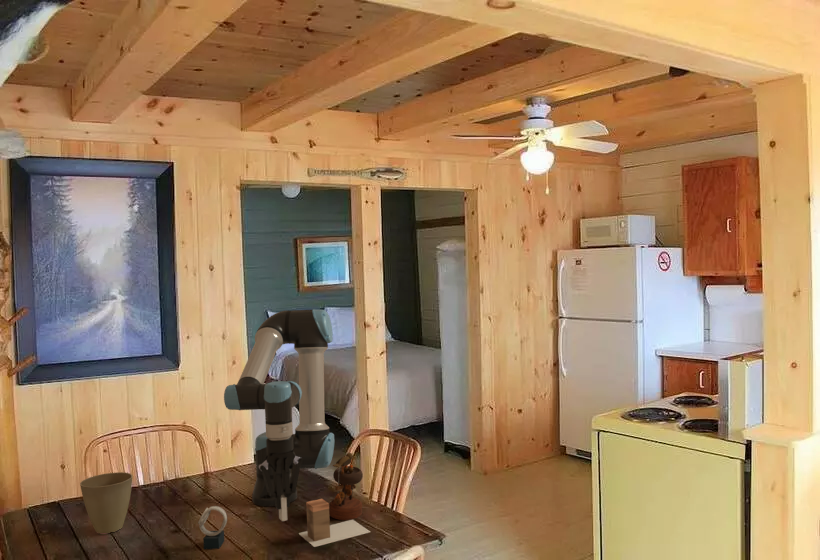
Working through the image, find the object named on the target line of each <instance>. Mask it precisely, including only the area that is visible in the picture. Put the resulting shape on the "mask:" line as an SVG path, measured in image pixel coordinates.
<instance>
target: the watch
mask: <svg viewBox="0 0 820 560" xmlns="http://www.w3.org/2000/svg"><path fill="white" fill-rule="evenodd" d="M211 511H216V512H218V513H220V514H221V515H222V517H223V521H222V523H221V527H220V528H219V529H218V530H208V529H206V527H205V525H204V524H205V523H206V521H207V520H208V518H209V516H210V515H211ZM227 523H228V515H227V513H226V510H225V509H223V508H222V507H221V506H218V505H213V506H212V505H211V506H209V508H208V507H206V508H205V510H204V511H203V512H202V514H201V516H200V518H199V520H198V527H199V529H200V531H201V533H202V534H204V535H205V536H204V537H203V541H202V542H203V550H219V549H220V548H221V547H222V545H223V544H224V542H225V530H224V529H225V527H226V526H227Z"/></svg>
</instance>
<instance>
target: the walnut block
mask: <svg viewBox="0 0 820 560" xmlns="http://www.w3.org/2000/svg"><path fill="white" fill-rule="evenodd" d="M305 504H306V526H307V528H306V529H307V530H306V531H307V532H308V537H310V538H311V539H312V540H313V541H318V540H322V539H326V538H330V525H331V523H330V522H331V520H330V515H329V504H330V502H327V501H326V500H324V499H323V498H319V499H314V500H310V501H306V502H305Z"/></svg>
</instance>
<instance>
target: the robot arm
mask: <svg viewBox="0 0 820 560" xmlns="http://www.w3.org/2000/svg"><path fill="white" fill-rule="evenodd" d="M333 336H334V334H333V326H332V322H331V318H330V315H329V313H328V312H327V310H324V309H314V308H312V309H300V310H299V309H298V310H297V309H295V310H294V309H293V310H282V311H279V312H276V313H275V314H273V315H271V316H269V317H268V318H267V319H265V320H264V321H263V322H262V323H261V325H260V326H259V327H258V328H257V330H256V332H255V334H254V342H255V343H254V345H253V347H252V349H251V352H250V353H249V356H248V359H247V360H246V364H245V366H244V367H243V370H242V372H241V375H240V376H239V379H238V381H237V383H236V384H235V383H234V384H230V385H227V386H226V387H225V389H224V393H223V402H224V405H225V409H227V410H230V411H234V410H235V411H252V410H253V411H255V410H264V415H265V432H262V433H259V434H258V435H257V436H256V438H255V440H254V441H255V447H254V451H255V453H254V454H255V466H256V467H255V471H256V472H255V473H256V481H255V483H254V487H253V490H252V494H251V495H252V496H251V498H252V501H251V503H253V504H254V505H256V506H259V507H275V509H276V510H278V519H279V520H280V521H281V522H285V521H288V508H289V507H290V506H291V505H290V503H292V502H294V501H296V499H298V490H297V486H298V480H299V474H300V469H303V470H304V469H314V470H317V469H325V468H328V467H329V466H330V465H331V462H332V459H333V456H334V451H335V450H334V449H335V434H334V433H333V432H330V427H329V426H328V424H326V421H325V420H326V419H325V374H324V373H325V363H324V362H325V359H324V357H325V356H324V355H325V352H326V351H327V350H328V349H329V344H330V343H332V342H333ZM283 345H293V349H294V351H296V352H297V354H298V383H297V382H296V381H291V380H287V381H285V380H282V381H281V380H279V381H271V382H268V383H265V381H266V378H267V376H268V374H269V371H270V369H271V365H272V363H273V360H274V358H275V355H276V354H277V351H278V350H279V349H281V347H282V346H283ZM295 406H298V407H299V409H298V410H299V411H298V412H299V423H298V425H297V426H296V427H295V428H294V429H293V408H294V407H295ZM293 431H294V432H293Z"/></svg>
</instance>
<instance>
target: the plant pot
mask: <svg viewBox="0 0 820 560" xmlns="http://www.w3.org/2000/svg"><path fill="white" fill-rule="evenodd" d="M79 485H80V491H81V495H82V498H83V503H84V506H85V510H86V513H87V515H88V518H89V520H90V522H91V525H92V526H93V528H94V530H95V533H96V532H98V533H110V532H115V531H117V530H119V529H121V528H123V526H124V523H125V520H126V517H127V513H128V510H129V505H130V500H131V495H132V493H131V492H132V485H133V474H132V473H130V472H124V471H123V472H119V471H118V472H116V471H115V472H109V473H108V472H106V473H100V474H97V475H93V476H90V477H88V478H85V479H83V480H81V481H80V482H79ZM121 530H122V529H121ZM119 531H120V530H119ZM115 533H116V532H115Z"/></svg>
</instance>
